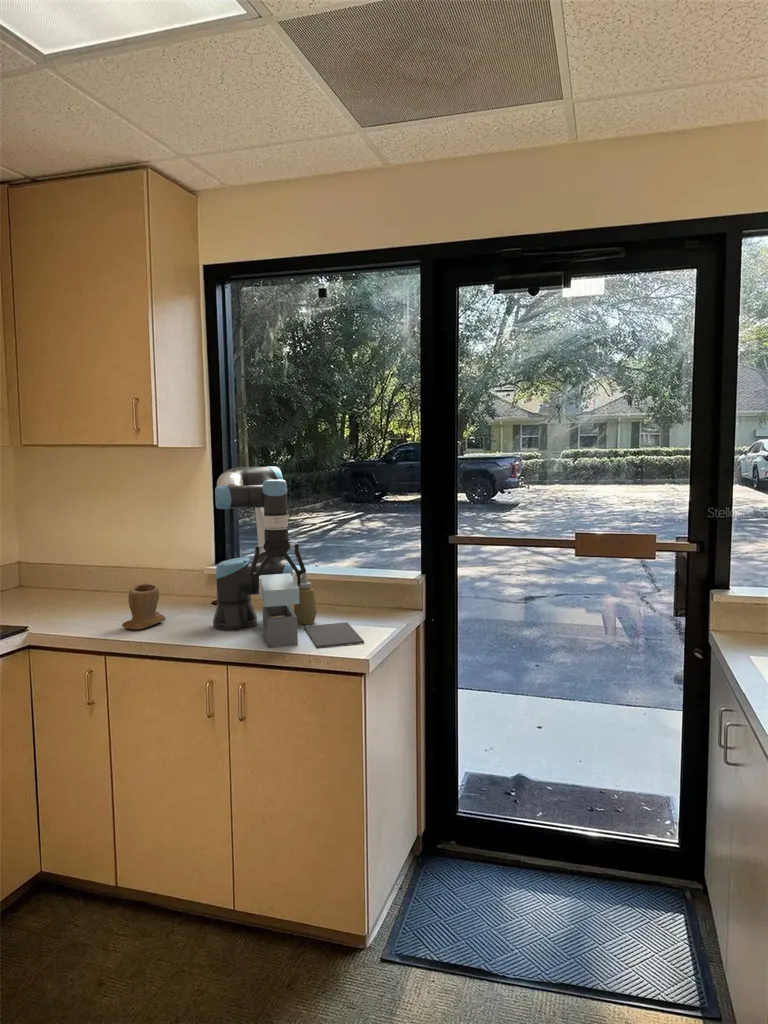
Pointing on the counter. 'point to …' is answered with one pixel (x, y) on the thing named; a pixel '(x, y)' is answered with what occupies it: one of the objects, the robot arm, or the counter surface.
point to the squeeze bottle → (305, 603)
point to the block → (279, 590)
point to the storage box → (280, 626)
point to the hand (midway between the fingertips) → (278, 596)
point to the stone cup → (143, 607)
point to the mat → (333, 635)
